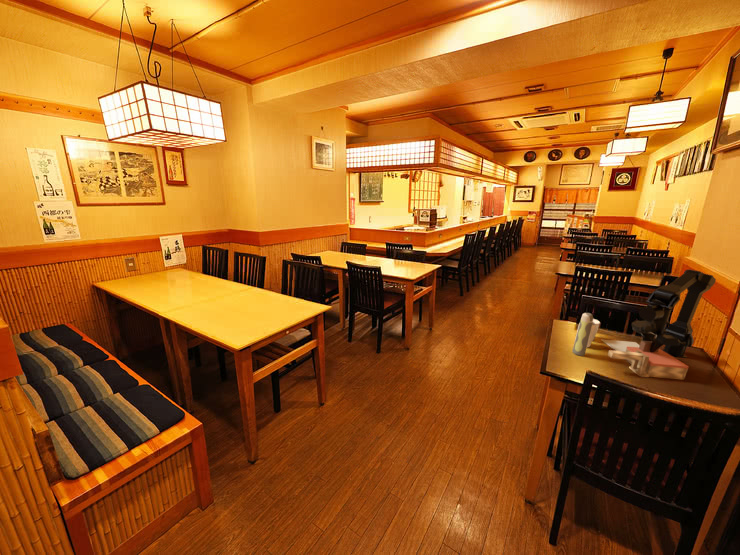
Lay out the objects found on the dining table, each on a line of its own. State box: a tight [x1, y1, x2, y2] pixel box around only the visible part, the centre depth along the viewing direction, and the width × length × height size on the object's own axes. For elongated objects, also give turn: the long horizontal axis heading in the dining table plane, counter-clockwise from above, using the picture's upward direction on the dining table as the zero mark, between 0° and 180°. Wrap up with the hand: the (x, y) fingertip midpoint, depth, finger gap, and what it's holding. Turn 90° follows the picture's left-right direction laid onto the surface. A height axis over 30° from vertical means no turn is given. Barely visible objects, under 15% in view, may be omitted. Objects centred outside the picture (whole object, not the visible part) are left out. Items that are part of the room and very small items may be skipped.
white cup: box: [591, 318, 601, 342], centre depth 156 cm, size 8×8×10 cm
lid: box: [626, 340, 689, 370], centre depth 129 cm, size 14×14×5 cm
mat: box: [601, 339, 640, 352], centre depth 147 cm, size 16×16×1 cm
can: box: [574, 322, 595, 348], centre depth 149 cm, size 6×6×12 cm
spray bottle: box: [572, 312, 594, 357], centre depth 139 cm, size 5×5×20 cm
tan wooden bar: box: [607, 349, 646, 360], centre depth 126 cm, size 13×2×2 cm, turn 84°
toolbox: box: [624, 349, 689, 380], centre depth 130 cm, size 17×15×9 cm
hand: (648, 350), depth 134 cm, fingers open, 3 cm apart
